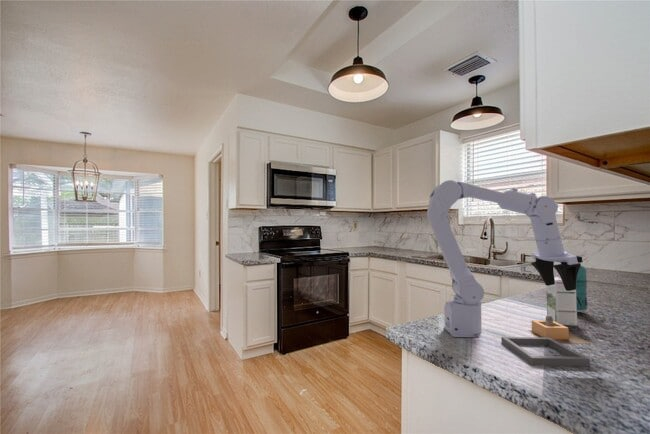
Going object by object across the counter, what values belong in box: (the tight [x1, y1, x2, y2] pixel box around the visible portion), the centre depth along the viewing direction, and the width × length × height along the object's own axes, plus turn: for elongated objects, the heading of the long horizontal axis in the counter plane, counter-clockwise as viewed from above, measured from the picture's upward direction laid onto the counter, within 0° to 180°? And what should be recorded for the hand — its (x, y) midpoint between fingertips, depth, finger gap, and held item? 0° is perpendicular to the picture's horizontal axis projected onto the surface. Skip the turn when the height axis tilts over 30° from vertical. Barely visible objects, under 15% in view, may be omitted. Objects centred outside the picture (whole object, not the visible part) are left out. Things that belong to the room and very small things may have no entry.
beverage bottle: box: [575, 255, 588, 311], centre depth 106 cm, size 6×7×20 cm
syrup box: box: [545, 276, 578, 326], centre depth 92 cm, size 6×6×14 cm
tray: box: [501, 336, 591, 371], centre depth 70 cm, size 12×12×2 cm
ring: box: [531, 320, 570, 339], centre depth 81 cm, size 7×6×3 cm
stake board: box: [528, 315, 592, 345], centre depth 80 cm, size 10×9×6 cm
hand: (560, 287), depth 82 cm, fingers open, 7 cm apart
